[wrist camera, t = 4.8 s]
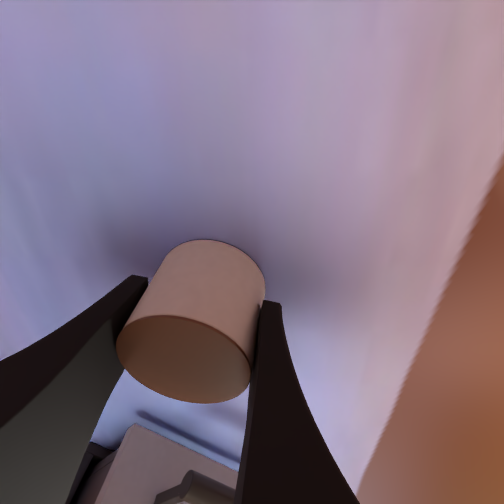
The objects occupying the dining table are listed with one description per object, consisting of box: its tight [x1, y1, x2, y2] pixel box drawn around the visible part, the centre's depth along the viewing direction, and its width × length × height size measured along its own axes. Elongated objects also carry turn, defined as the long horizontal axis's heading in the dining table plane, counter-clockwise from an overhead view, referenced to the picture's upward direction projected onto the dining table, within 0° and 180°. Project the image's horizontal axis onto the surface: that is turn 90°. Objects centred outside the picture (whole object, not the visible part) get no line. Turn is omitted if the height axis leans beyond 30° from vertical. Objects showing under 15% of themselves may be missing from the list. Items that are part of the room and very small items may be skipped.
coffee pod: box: [116, 240, 265, 404], centre depth 12 cm, size 4×4×4 cm
